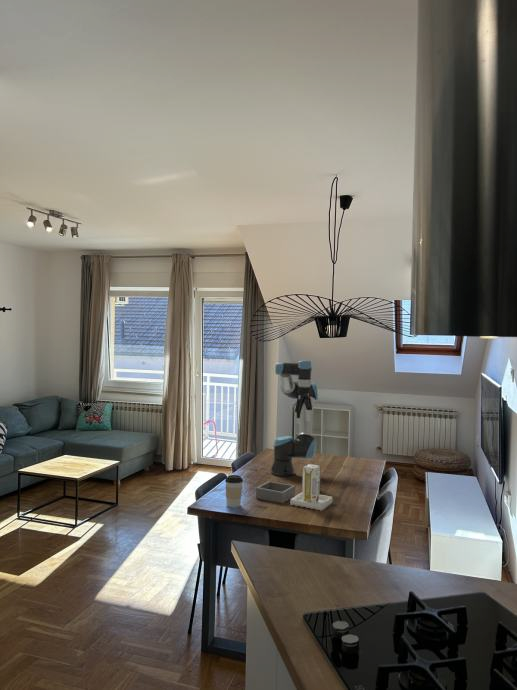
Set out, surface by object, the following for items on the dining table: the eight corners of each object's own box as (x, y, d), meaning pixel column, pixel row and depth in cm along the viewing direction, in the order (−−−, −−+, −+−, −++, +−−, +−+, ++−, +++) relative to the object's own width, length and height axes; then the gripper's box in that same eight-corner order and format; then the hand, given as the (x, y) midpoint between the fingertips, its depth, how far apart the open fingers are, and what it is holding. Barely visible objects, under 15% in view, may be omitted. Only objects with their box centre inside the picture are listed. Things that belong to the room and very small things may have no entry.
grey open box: (255, 497, 262) (256, 487, 262) (268, 490, 276) (269, 481, 276) (282, 503, 255) (283, 492, 255) (294, 495, 268) (294, 485, 268)
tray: (290, 505, 252) (290, 499, 252) (302, 496, 266) (302, 491, 266) (321, 511, 244) (321, 505, 244) (332, 502, 258) (332, 496, 258)
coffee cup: (225, 502, 254) (226, 473, 254) (242, 502, 254) (243, 473, 254) (223, 507, 245) (224, 478, 245) (241, 508, 245) (242, 478, 245)
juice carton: (320, 501, 256) (321, 465, 256) (314, 506, 248) (315, 468, 248) (307, 499, 259) (308, 463, 259) (300, 503, 252) (301, 466, 252)
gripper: (301, 388, 278) (300, 425, 279) (318, 385, 300) (317, 420, 300) (289, 387, 282) (288, 424, 282) (306, 384, 304) (305, 418, 304)
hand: (303, 422), depth 291 cm, fingers open, 13 cm apart
